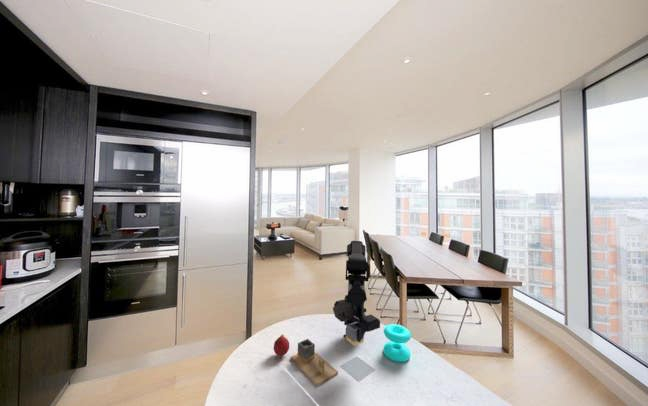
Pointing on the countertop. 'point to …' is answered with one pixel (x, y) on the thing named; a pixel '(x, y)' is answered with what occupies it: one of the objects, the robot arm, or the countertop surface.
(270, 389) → the countertop surface
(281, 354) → the onion
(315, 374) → the pin board
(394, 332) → the donuts
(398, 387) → the countertop surface
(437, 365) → the countertop surface
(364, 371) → the mat
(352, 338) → the sleeve
